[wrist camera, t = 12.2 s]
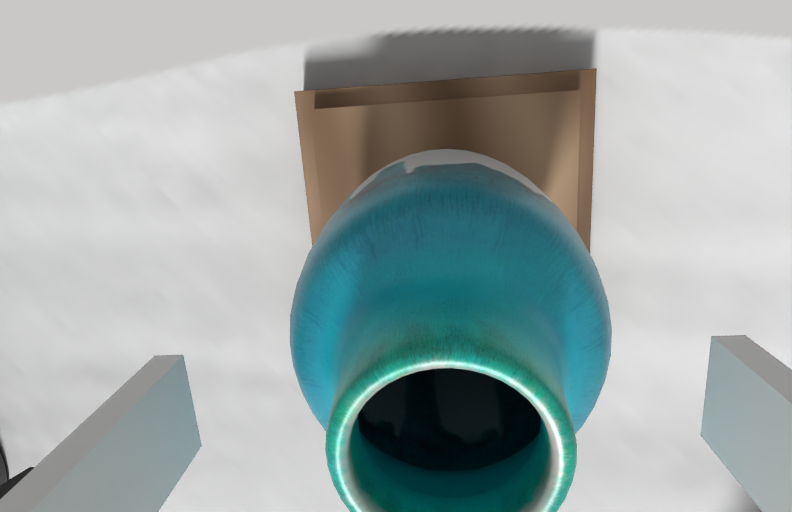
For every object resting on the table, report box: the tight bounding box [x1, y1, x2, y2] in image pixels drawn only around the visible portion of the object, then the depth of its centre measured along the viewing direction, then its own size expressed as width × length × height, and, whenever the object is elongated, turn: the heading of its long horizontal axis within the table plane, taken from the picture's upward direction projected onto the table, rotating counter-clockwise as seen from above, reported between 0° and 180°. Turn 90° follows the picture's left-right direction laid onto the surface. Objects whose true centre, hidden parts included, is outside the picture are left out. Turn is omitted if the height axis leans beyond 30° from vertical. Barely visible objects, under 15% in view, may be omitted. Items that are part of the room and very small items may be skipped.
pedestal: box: [294, 69, 596, 254], centre depth 31 cm, size 16×16×3 cm
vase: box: [290, 149, 612, 512], centre depth 20 cm, size 11×11×19 cm
